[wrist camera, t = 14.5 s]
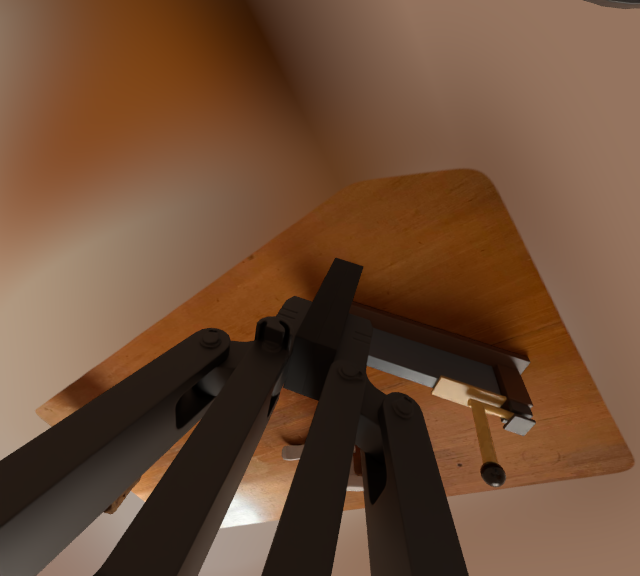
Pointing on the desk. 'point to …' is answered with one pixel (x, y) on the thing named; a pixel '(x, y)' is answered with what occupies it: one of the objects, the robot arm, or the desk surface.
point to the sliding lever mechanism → (449, 364)
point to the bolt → (488, 441)
